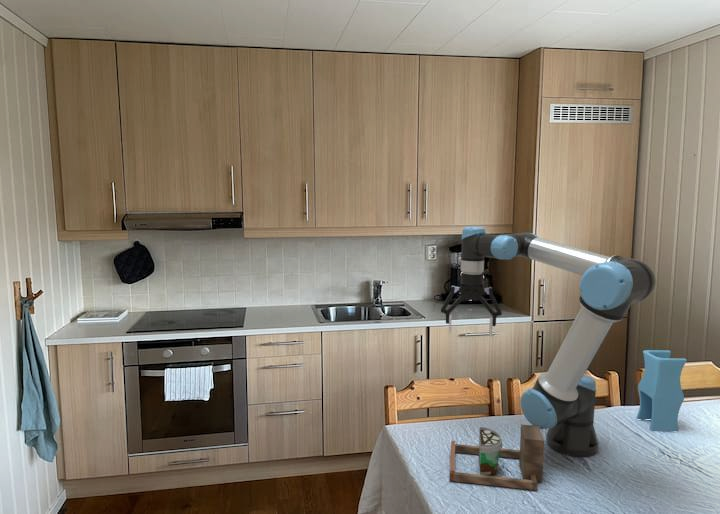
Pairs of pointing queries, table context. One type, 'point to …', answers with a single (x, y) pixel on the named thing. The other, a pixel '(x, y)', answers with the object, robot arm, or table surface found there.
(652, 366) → the blue wavy channel stand
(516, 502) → the table surface
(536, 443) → the walnut bed frame
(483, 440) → the food container
